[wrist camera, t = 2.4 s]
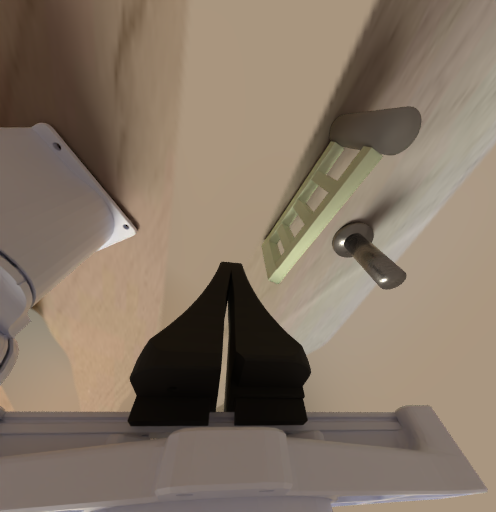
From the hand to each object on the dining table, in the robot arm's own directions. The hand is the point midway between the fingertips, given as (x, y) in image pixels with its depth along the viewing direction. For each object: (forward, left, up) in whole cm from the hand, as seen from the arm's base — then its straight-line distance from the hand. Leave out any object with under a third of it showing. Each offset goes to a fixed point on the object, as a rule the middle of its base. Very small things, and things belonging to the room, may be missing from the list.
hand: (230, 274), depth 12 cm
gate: (-1, +7, -7) cm, 10 cm away
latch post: (+6, +11, -8) cm, 15 cm away
